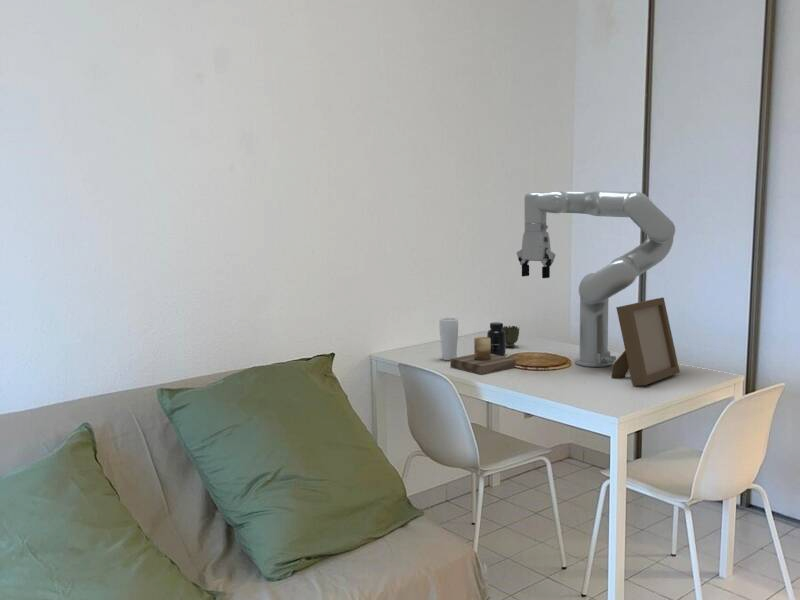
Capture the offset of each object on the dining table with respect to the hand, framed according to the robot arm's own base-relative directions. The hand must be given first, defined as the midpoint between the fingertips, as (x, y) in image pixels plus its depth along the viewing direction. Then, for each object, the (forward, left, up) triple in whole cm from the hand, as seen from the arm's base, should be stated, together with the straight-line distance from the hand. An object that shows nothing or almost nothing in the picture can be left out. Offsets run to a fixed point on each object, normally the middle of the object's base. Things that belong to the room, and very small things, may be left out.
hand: (535, 277), depth 267 cm
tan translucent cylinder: (+6, +20, -30) cm, 37 cm away
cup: (+25, -12, -31) cm, 41 cm away
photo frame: (-40, -6, -31) cm, 51 cm away
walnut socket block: (+6, +20, -30) cm, 37 cm away
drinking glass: (+24, +20, -31) cm, 44 cm away
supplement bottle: (+18, +2, -31) cm, 35 cm away
